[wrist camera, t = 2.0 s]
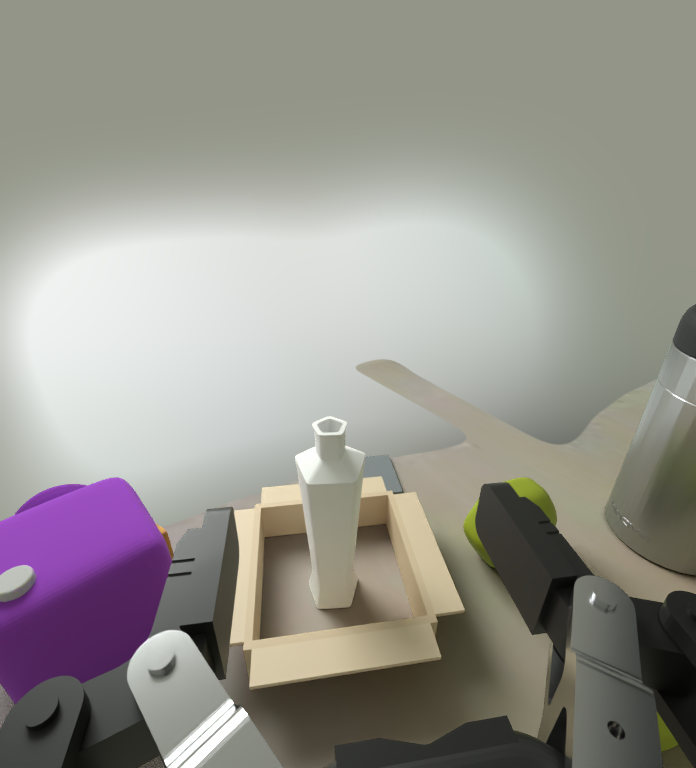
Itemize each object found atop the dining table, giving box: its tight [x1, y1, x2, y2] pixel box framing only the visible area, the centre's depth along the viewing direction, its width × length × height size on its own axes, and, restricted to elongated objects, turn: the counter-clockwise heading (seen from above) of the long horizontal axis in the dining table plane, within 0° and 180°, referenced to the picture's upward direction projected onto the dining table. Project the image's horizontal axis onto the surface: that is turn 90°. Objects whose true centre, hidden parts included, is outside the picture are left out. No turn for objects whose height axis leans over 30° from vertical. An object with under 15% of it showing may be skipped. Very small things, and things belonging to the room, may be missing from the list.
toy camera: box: [0, 478, 174, 704], centre depth 27 cm, size 11×14×10 cm
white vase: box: [295, 416, 365, 609], centre depth 28 cm, size 5×4×15 cm
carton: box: [229, 476, 465, 690], centre depth 31 cm, size 16×16×4 cm
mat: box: [363, 455, 403, 494], centre depth 42 cm, size 8×6×1 cm
